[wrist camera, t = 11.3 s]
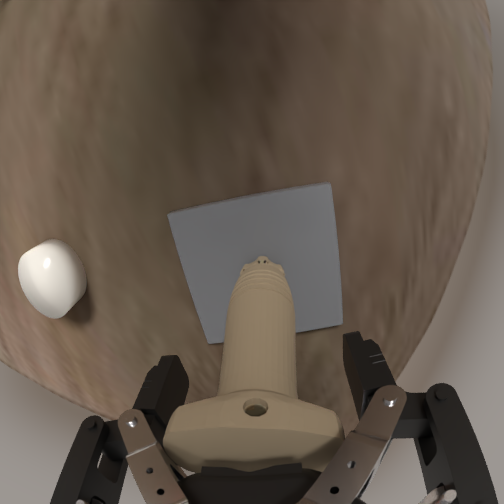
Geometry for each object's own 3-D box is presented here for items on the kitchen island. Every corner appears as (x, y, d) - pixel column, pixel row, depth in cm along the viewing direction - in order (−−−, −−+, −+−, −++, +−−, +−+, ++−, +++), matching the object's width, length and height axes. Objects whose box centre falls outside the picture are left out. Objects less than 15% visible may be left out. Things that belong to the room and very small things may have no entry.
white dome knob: (30, 245, 23) (9, 257, 20) (72, 231, 22) (50, 244, 19) (54, 303, 26) (37, 319, 22) (97, 297, 25) (80, 316, 22)
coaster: (171, 211, 21) (167, 214, 20) (327, 181, 20) (330, 183, 19) (210, 337, 25) (208, 343, 25) (340, 317, 24) (342, 324, 23)
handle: (219, 243, 21) (147, 416, 7) (306, 244, 21) (362, 423, 7) (222, 299, 23) (177, 474, 9) (302, 301, 23) (330, 479, 9)
